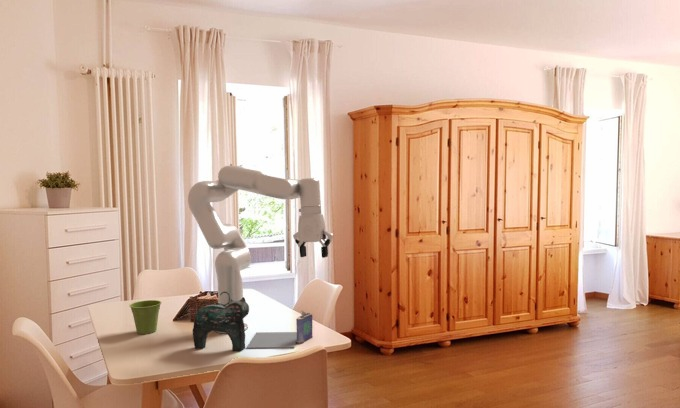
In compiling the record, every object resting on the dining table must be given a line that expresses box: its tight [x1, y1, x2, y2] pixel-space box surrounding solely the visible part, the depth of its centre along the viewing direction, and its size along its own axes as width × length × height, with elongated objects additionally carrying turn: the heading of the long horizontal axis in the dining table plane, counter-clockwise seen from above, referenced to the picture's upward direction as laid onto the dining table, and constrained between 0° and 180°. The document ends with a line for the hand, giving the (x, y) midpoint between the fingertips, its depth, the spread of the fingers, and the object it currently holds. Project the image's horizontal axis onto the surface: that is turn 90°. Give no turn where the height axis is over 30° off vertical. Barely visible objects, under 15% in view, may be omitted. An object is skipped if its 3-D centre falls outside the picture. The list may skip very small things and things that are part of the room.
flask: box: [295, 310, 313, 345], centre depth 182 cm, size 9×3×11 cm, turn 153°
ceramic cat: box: [192, 292, 250, 352], centre depth 173 cm, size 20×6×20 cm, turn 77°
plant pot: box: [129, 299, 162, 335], centre depth 196 cm, size 12×12×11 cm
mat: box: [245, 331, 297, 350], centre depth 182 cm, size 16×18×1 cm
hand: (314, 256), depth 187 cm, fingers open, 9 cm apart
